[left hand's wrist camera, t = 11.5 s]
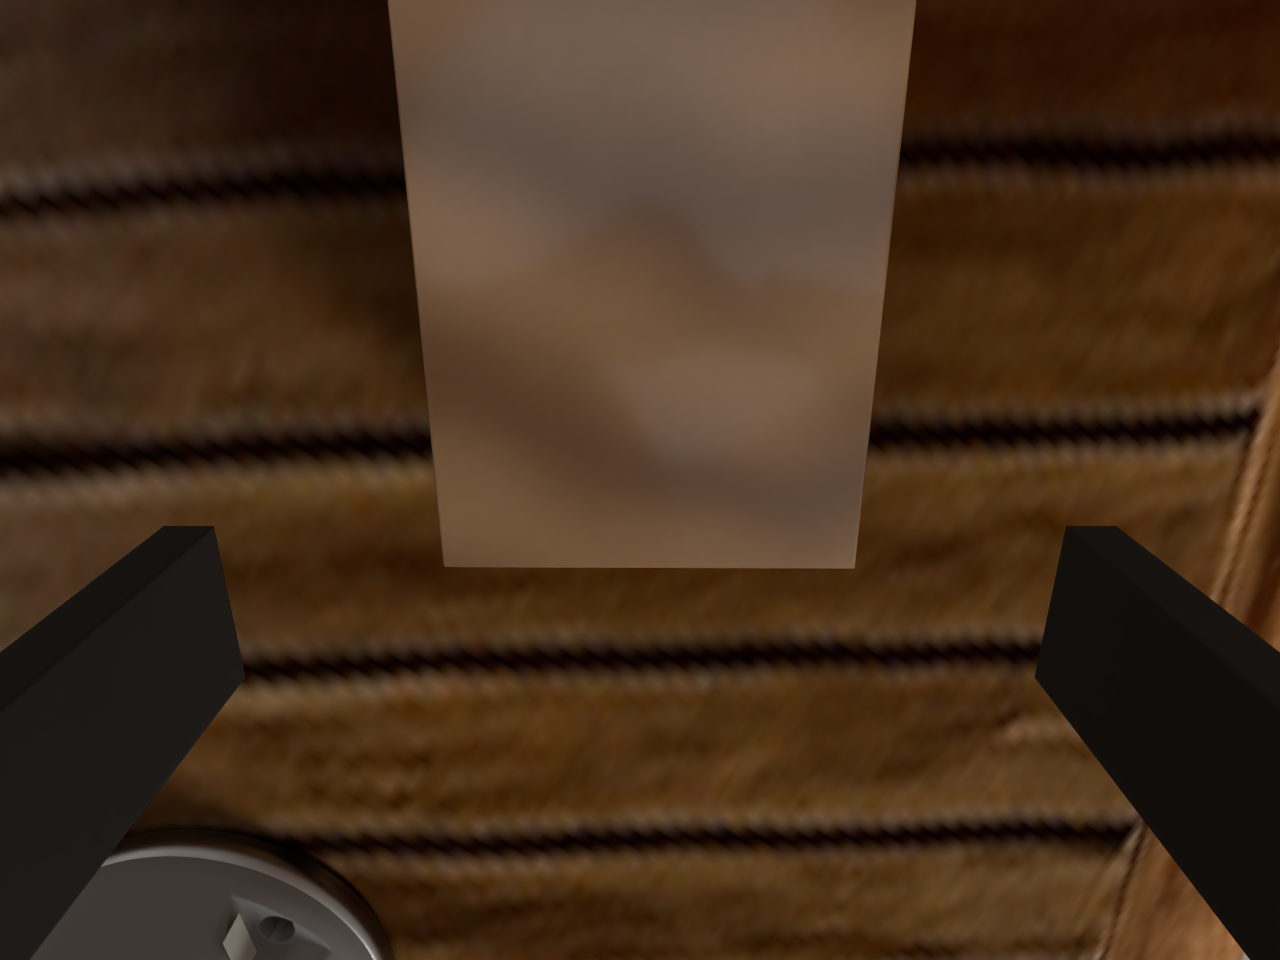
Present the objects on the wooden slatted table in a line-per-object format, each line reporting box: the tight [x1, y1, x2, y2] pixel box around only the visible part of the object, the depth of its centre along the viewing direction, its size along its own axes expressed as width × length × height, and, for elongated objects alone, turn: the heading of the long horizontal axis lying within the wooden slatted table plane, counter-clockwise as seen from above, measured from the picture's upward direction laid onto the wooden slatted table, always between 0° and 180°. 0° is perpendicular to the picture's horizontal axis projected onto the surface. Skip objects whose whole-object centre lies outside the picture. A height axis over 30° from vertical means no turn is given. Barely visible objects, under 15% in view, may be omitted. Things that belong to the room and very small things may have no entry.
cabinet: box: [388, 0, 916, 569], centre depth 20 cm, size 19×10×8 cm, turn 0°
